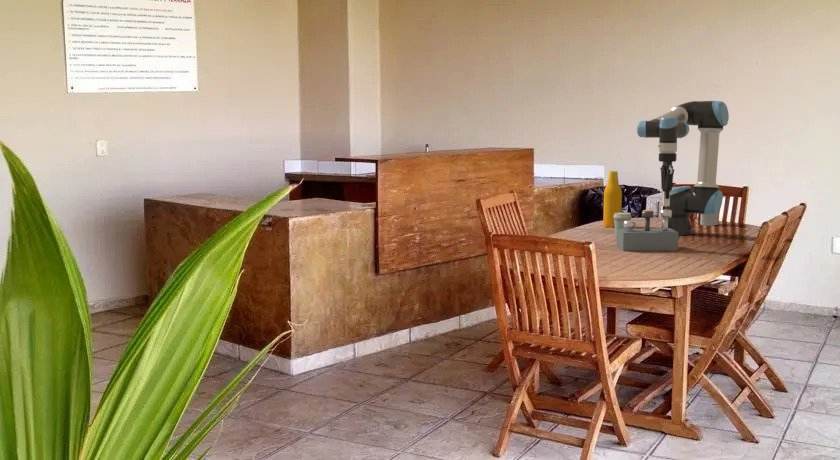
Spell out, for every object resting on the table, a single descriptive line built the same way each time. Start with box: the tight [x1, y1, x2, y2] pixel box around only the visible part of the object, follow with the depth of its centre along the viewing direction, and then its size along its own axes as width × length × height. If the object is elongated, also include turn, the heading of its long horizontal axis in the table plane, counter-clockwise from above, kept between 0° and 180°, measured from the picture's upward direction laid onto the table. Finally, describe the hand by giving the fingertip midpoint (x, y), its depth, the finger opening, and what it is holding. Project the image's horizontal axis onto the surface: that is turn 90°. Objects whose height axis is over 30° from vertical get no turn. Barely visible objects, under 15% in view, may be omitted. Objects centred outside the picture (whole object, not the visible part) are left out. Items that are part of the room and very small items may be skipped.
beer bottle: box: [602, 170, 623, 229], centre depth 454 cm, size 9×9×29 cm
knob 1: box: [624, 220, 636, 231], centre depth 386 cm, size 5×5×12 cm
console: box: [616, 227, 679, 252], centre depth 387 cm, size 24×12×8 cm, turn 90°
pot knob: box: [641, 209, 655, 231], centre depth 386 cm, size 5×5×12 cm
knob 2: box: [659, 209, 672, 231], centre depth 386 cm, size 5×5×12 cm
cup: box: [699, 210, 720, 227], centre depth 458 cm, size 9×9×12 cm
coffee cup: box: [614, 211, 632, 239], centre depth 416 cm, size 8×8×12 cm
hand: (666, 205), depth 385 cm, fingers closed
